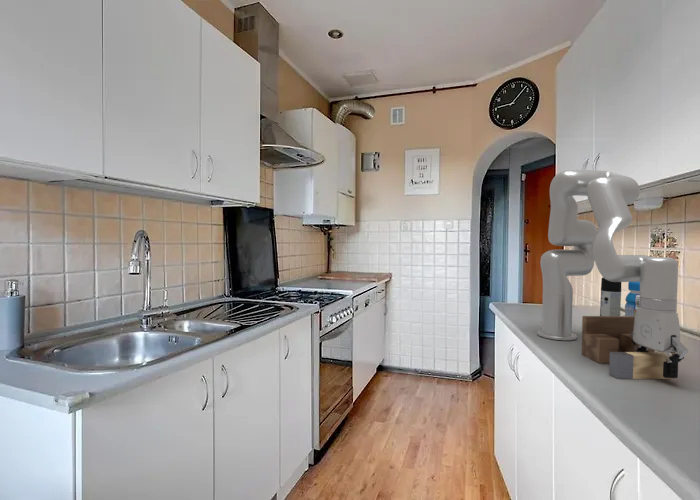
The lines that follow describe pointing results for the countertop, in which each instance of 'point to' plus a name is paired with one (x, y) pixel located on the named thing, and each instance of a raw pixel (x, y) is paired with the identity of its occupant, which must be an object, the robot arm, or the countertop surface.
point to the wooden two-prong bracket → (606, 336)
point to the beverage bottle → (632, 299)
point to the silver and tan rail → (637, 365)
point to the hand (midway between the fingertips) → (655, 370)
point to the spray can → (610, 298)
